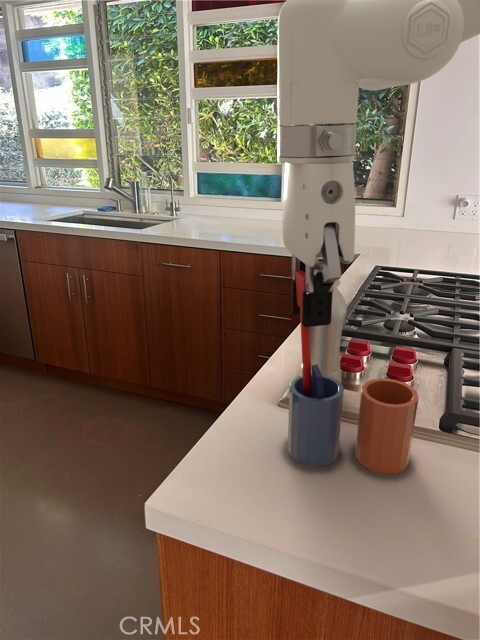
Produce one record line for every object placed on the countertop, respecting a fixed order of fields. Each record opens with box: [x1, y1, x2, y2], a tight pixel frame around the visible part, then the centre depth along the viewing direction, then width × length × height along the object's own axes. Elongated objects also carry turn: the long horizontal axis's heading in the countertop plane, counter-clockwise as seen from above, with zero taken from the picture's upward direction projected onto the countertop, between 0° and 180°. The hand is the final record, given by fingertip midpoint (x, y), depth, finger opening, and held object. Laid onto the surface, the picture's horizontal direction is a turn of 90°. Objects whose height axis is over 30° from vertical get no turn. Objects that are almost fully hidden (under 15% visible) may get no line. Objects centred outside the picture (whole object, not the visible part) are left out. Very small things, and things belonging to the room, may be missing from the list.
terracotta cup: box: [354, 378, 420, 475], centre depth 57 cm, size 6×6×10 cm
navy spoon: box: [312, 364, 324, 399], centre depth 56 cm, size 1×2×13 cm, turn 5°
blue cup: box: [287, 374, 344, 468], centre depth 58 cm, size 6×6×10 cm
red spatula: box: [296, 271, 312, 398], centre depth 53 cm, size 1×3×16 cm, turn 11°
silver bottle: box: [298, 269, 348, 384], centre depth 70 cm, size 6×7×20 cm
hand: (310, 317), depth 52 cm, fingers closed on red spatula, 3 cm apart
